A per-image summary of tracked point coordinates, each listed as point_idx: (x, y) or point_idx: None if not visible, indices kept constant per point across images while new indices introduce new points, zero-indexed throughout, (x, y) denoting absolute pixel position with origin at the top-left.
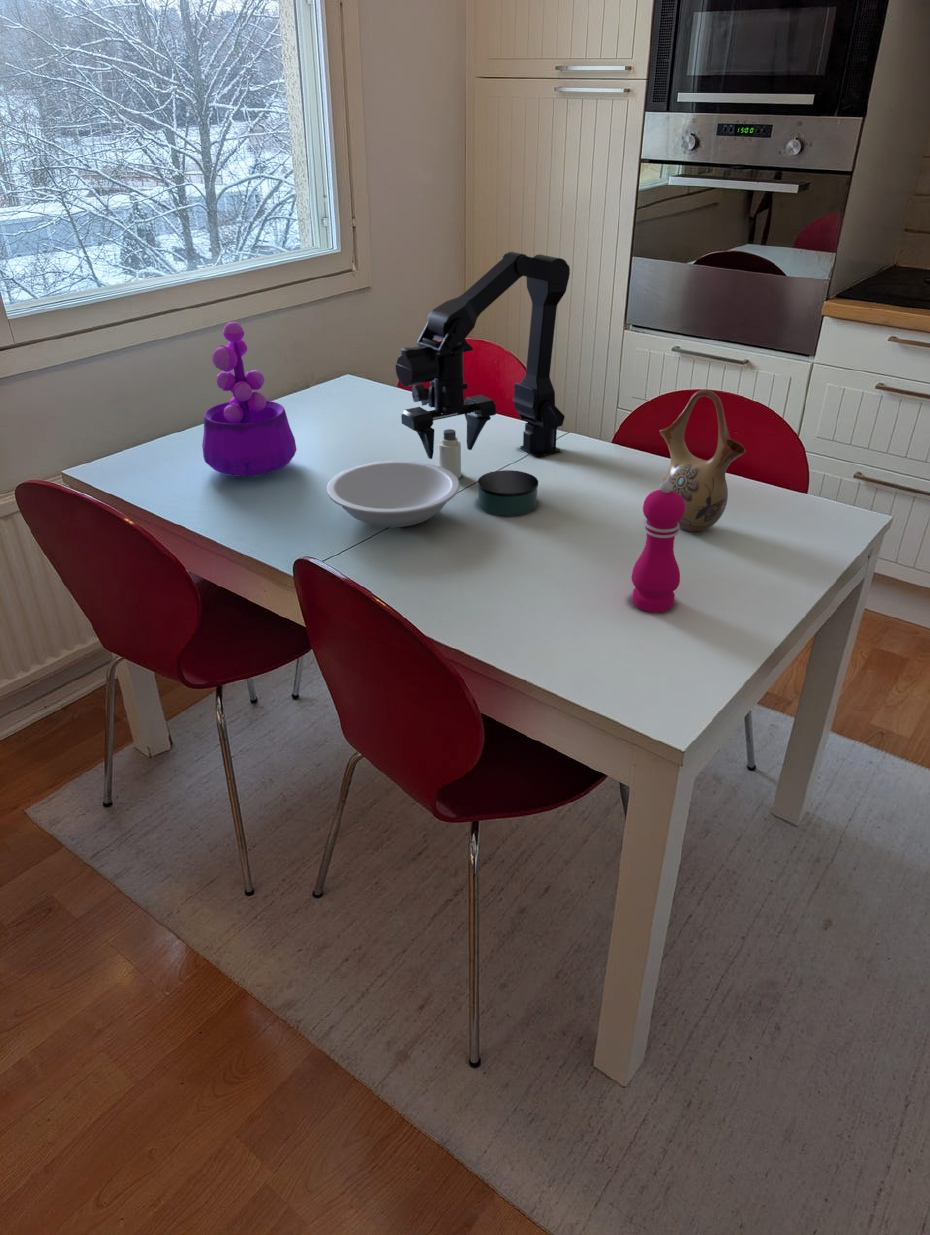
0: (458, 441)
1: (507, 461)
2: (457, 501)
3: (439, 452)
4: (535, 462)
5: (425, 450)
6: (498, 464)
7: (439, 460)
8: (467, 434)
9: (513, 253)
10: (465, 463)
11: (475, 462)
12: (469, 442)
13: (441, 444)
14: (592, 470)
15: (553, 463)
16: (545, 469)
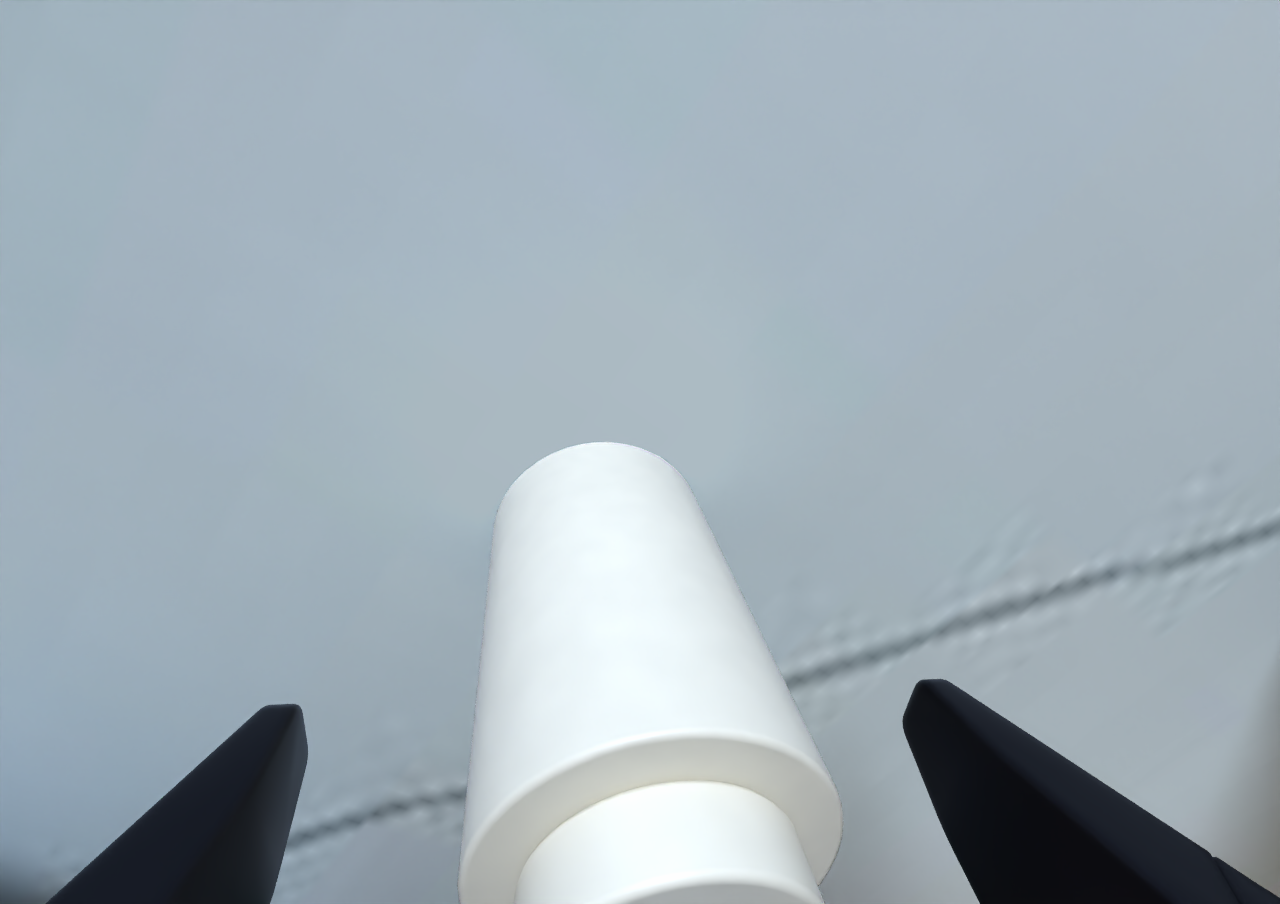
0: (824, 863)
1: (1162, 520)
2: (370, 890)
3: (475, 732)
4: (1233, 629)
5: (156, 811)
6: (1071, 532)
7: (483, 636)
8: (1087, 861)
9: None
10: (925, 354)
11: (1002, 390)
12: (968, 807)
13: (502, 873)
14: (1250, 830)
15: (1264, 689)
16: (1150, 735)
